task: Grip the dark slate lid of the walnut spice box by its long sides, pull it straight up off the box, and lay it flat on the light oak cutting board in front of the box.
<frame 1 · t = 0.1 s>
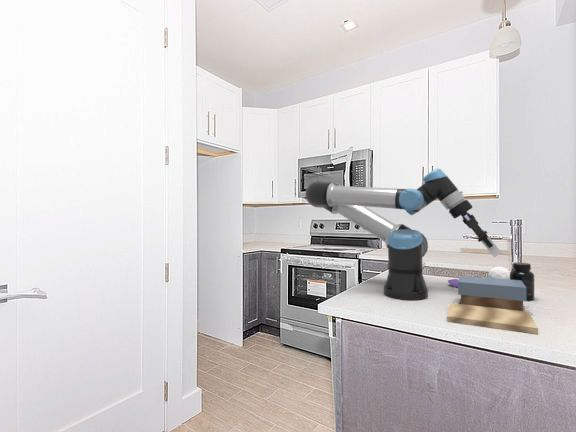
hand: (496, 252, 113), 15 cm above the worktop, tool tilted 35°, fingers open, 13 cm apart
supplement bottle: (521, 298, 109), on the worktop
slate lid: (489, 293, 101), point 4 cm above the worktop, touching walnut spice box
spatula: (477, 292, 120), on the worktop
ball: (500, 286, 127), on the worktop
walnut spice box: (489, 306, 101), on the worktop
oak cutting board: (488, 319, 89), on the worktop
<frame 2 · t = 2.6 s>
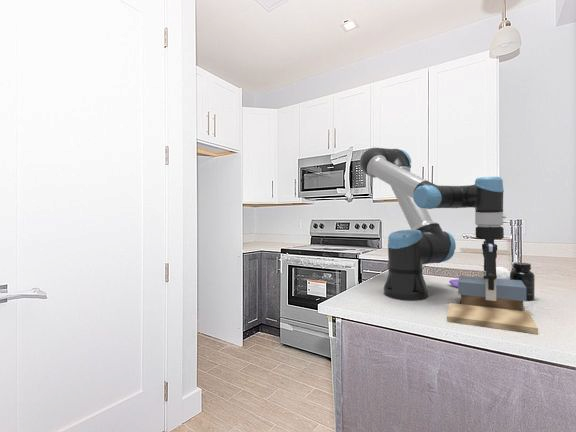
hand: (489, 295, 101), 3 cm above the worktop, tool pointing down, fingers closed on slate lid, 10 cm apart
slate lid: (489, 293, 101), point 4 cm above the worktop, touching gripper, walnut spice box
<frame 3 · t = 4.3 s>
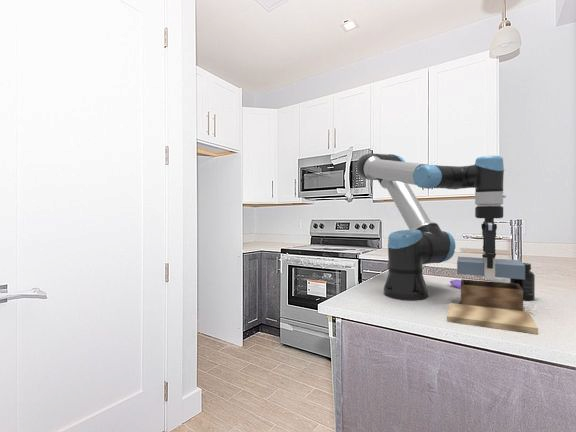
hand: (488, 275, 101), 10 cm above the worktop, tool pointing down, fingers closed on slate lid, 10 cm apart
slate lid: (488, 273, 101), point 10 cm above the worktop, touching gripper
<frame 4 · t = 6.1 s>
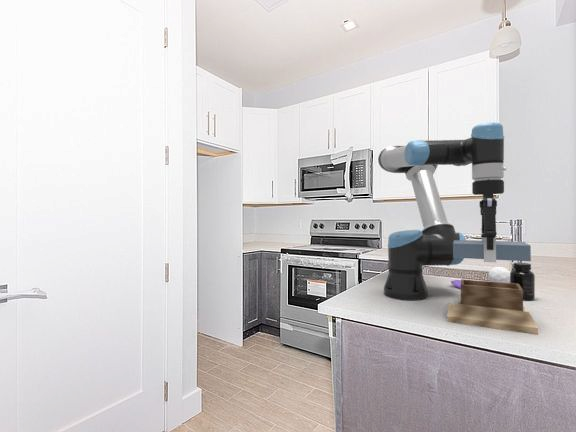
hand: (488, 259, 89), 17 cm above the worktop, tool pointing down, fingers closed on slate lid, 10 cm apart
slate lid: (488, 256, 89), point 18 cm above the worktop, touching gripper
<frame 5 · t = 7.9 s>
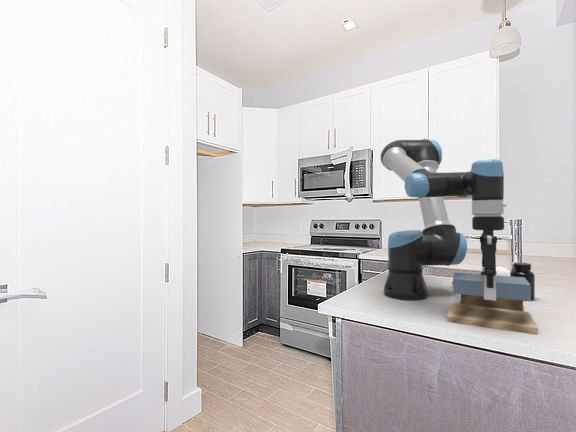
hand: (488, 294, 89), 7 cm above the worktop, tool pointing down, fingers closed on slate lid, 10 cm apart
slate lid: (489, 292, 89), point 8 cm above the worktop, touching gripper
when the fingers open (3 cm above the worktop, at t = 9.3 s): slate lid drops 2 cm, resting on oak cutting board.
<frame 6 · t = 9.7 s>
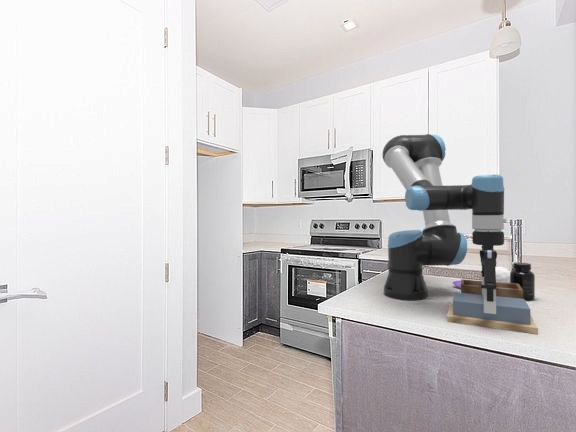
hand: (488, 306, 89), 4 cm above the worktop, tool pointing down, fingers open, 13 cm apart
slate lid: (488, 314, 89), point 1 cm above the worktop, touching oak cutting board
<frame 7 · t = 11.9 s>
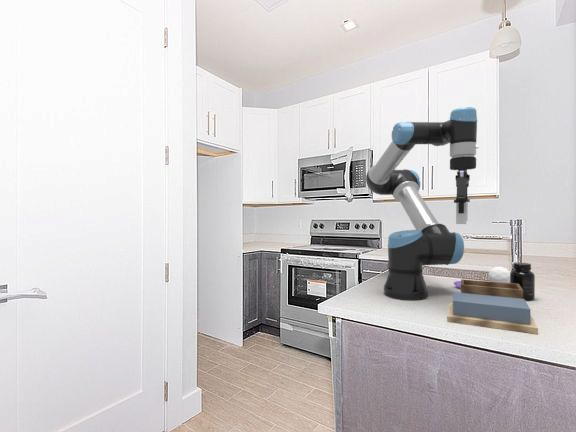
hand: (462, 222, 104), 27 cm above the worktop, tool pointing down, fingers open, 13 cm apart
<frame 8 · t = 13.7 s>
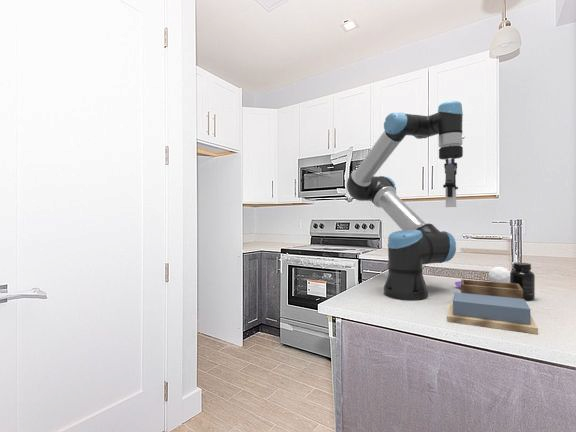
hand: (451, 207, 113), 32 cm above the worktop, tool pointing down, fingers open, 13 cm apart
at the end: slate lid inside the target area on the oak cutting board (0.0 cm from its centre), point 1.5 cm above the oak cutting board's base; slate lid tilted 0°; the gripper is holding nothing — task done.
